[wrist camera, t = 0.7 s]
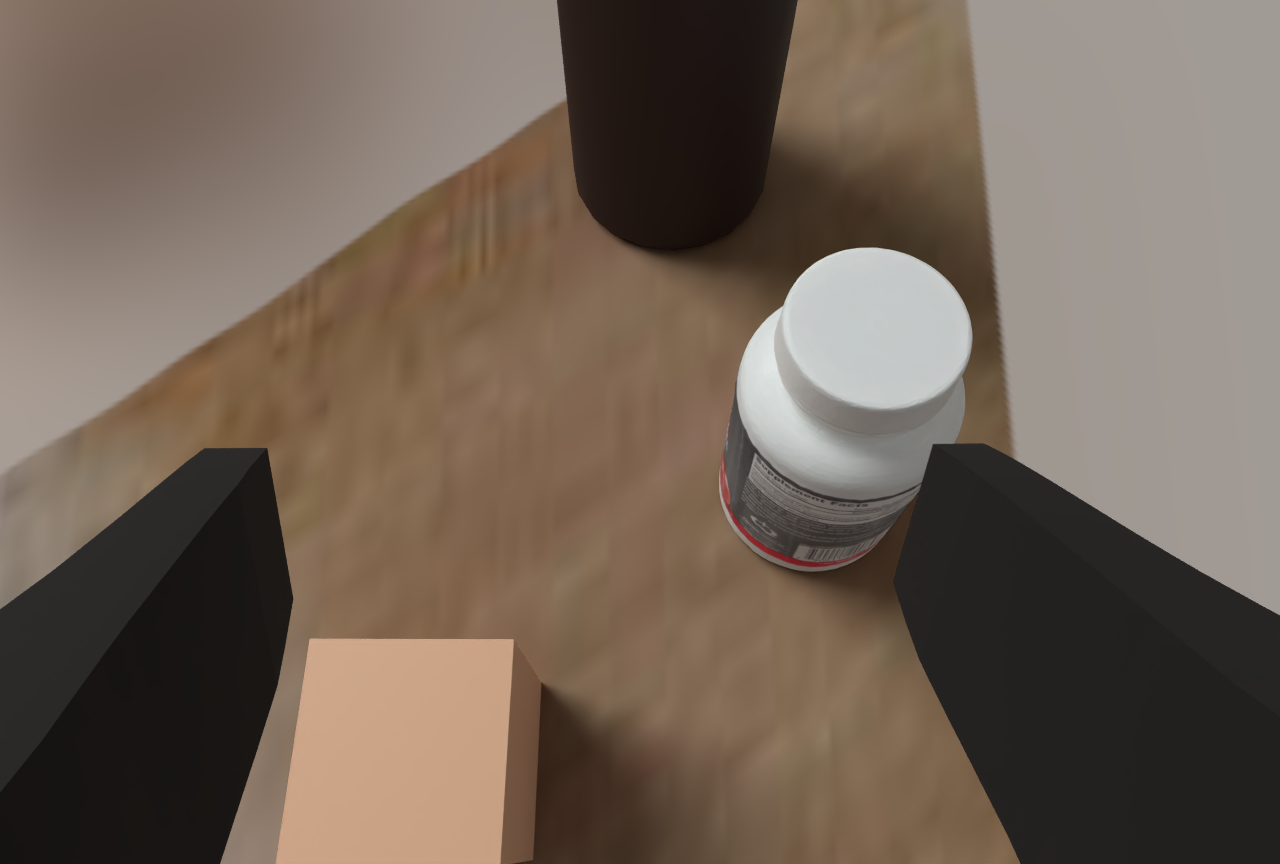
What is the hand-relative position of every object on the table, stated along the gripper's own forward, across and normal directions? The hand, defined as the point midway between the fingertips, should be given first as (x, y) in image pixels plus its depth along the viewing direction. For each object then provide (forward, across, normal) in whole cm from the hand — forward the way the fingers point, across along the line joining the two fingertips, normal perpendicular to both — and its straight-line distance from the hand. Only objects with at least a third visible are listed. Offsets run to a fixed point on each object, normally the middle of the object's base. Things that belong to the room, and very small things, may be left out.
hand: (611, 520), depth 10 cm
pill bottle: (+14, -8, +10) cm, 19 cm away
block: (+8, +3, +15) cm, 17 cm away
